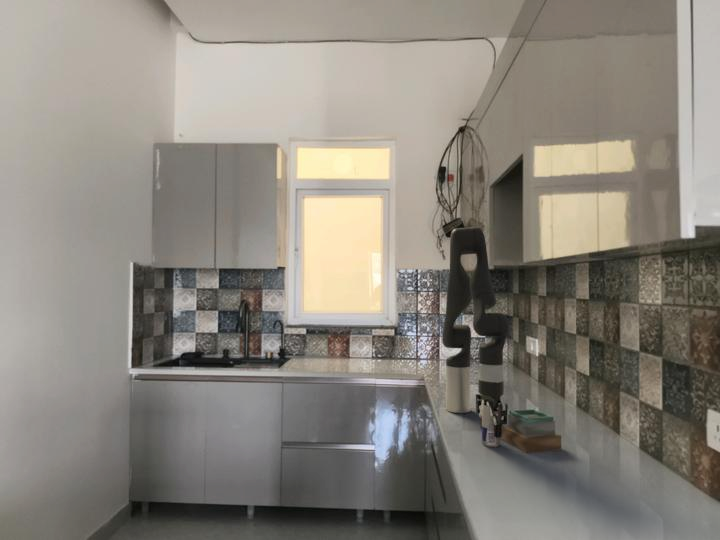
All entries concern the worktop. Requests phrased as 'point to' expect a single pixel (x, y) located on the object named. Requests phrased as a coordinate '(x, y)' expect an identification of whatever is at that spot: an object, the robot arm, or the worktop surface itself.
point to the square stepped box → (531, 431)
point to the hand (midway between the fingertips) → (491, 433)
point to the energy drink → (488, 428)
